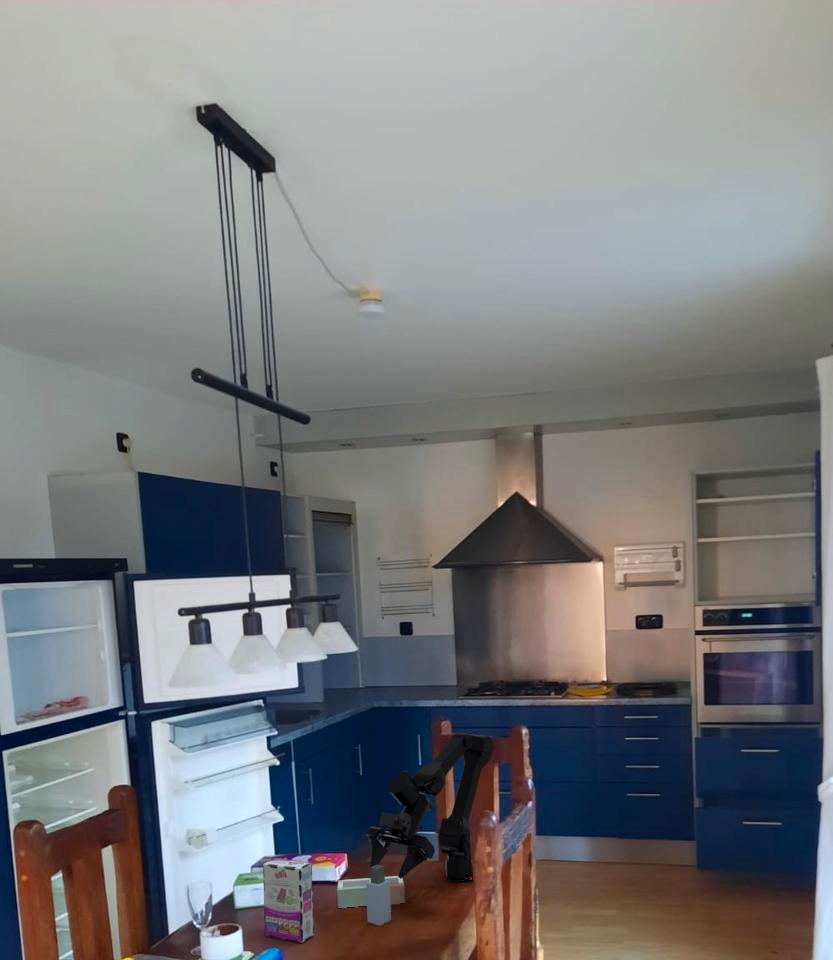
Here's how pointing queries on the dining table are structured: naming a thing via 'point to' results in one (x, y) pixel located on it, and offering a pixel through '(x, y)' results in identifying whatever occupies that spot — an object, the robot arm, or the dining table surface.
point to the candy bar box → (288, 900)
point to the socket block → (356, 894)
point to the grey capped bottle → (378, 897)
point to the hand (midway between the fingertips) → (385, 874)
